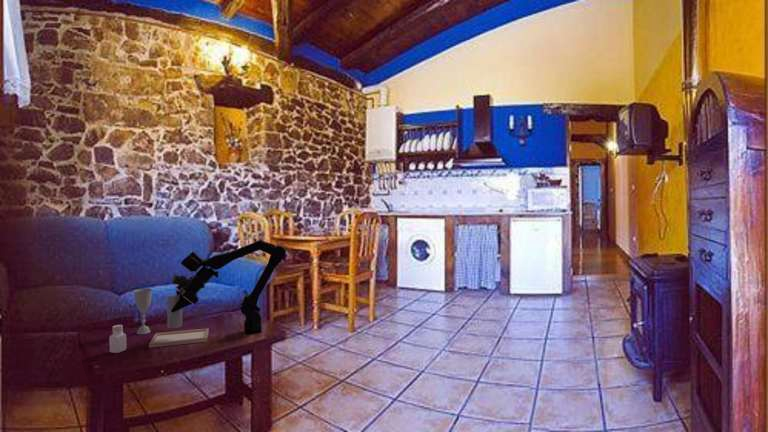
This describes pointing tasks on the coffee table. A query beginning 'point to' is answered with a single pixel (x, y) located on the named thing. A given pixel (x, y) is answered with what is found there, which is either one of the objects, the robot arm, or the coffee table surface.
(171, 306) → the grey upright block
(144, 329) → the chalice
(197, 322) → the coffee table surface
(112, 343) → the pepper shaker
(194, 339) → the serving tray
